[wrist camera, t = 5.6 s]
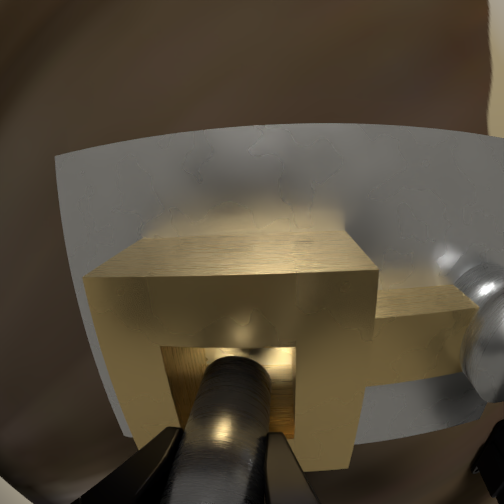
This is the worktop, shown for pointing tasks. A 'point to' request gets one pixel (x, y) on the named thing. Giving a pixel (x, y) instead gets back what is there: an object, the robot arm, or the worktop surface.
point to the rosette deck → (302, 189)
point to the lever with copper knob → (224, 437)
